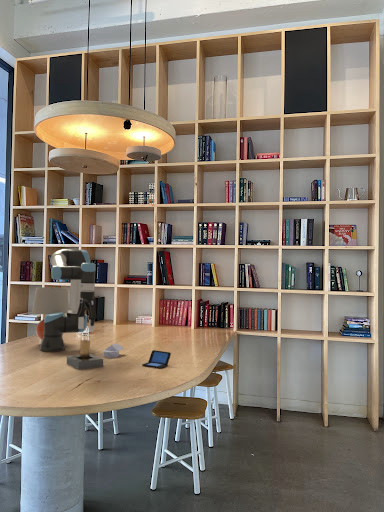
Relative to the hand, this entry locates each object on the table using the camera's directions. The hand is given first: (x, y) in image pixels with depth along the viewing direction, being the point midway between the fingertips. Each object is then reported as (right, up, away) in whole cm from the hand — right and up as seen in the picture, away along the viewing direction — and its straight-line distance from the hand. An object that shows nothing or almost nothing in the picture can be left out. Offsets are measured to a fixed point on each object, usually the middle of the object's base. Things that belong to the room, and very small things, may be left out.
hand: (86, 330), depth 227 cm
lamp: (-41, -21, +62) cm, 77 cm away
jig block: (-1, -19, -1) cm, 19 cm away
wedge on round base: (+9, -20, +27) cm, 35 cm away
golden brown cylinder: (-1, -18, -1) cm, 18 cm away
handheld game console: (+38, -20, +2) cm, 43 cm away
